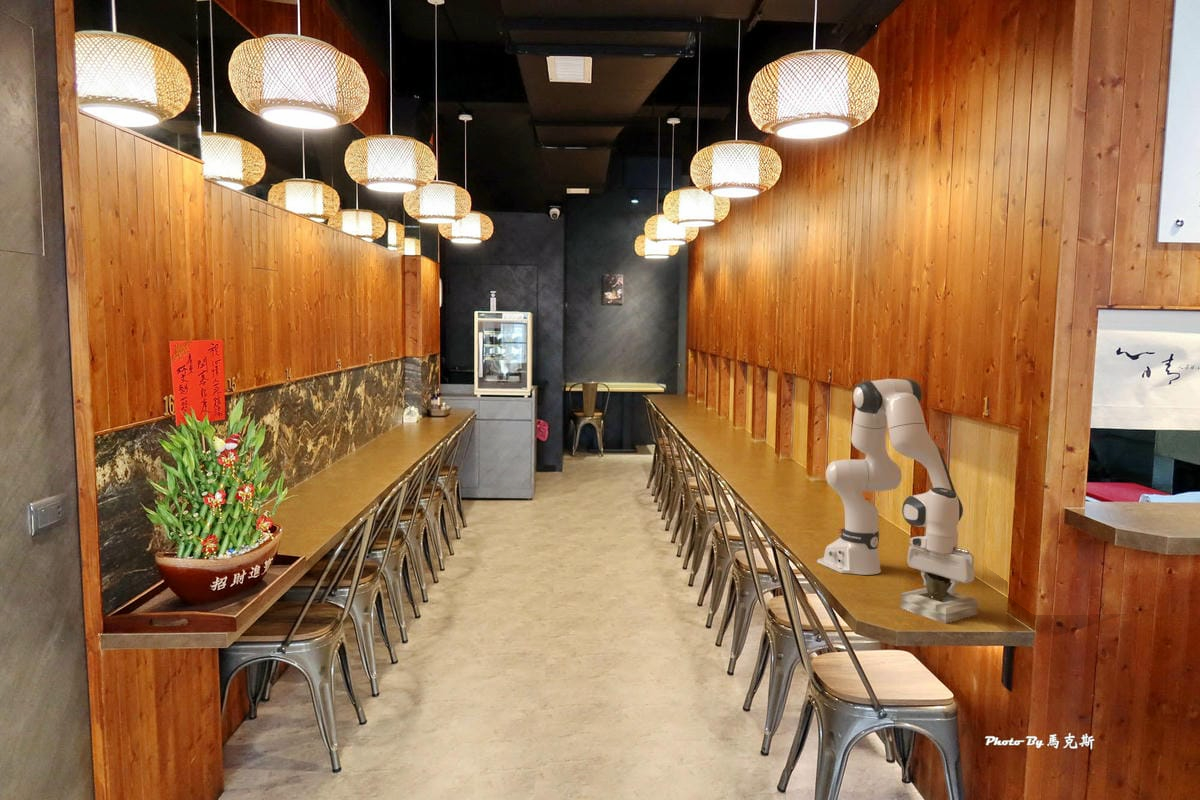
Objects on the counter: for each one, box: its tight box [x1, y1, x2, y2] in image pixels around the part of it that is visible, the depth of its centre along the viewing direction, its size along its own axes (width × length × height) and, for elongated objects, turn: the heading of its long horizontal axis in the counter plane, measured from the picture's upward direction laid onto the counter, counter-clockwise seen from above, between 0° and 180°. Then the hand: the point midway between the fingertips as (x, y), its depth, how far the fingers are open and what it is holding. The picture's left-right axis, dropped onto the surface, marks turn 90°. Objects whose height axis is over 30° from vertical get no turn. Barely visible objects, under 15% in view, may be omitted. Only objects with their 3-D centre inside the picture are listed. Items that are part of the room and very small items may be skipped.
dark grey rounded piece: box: [925, 573, 952, 602], centre depth 232 cm, size 8×7×8 cm
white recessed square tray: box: [899, 587, 979, 624], centre depth 232 cm, size 15×15×5 cm
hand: (938, 589), depth 232 cm, fingers closed on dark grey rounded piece, 6 cm apart
